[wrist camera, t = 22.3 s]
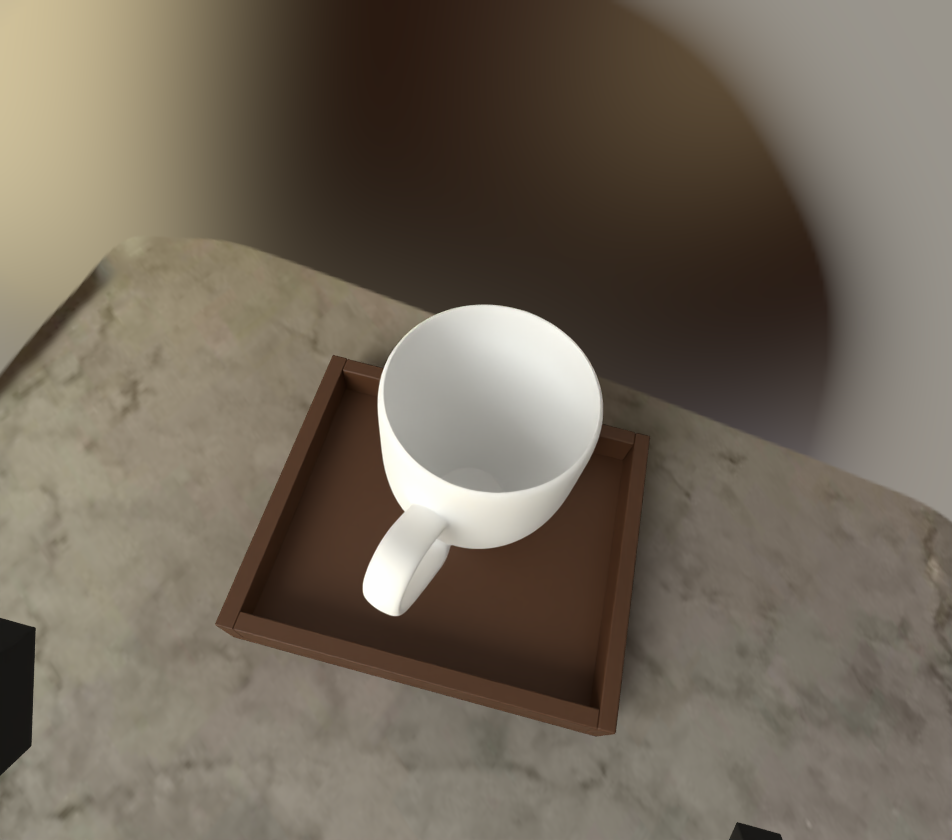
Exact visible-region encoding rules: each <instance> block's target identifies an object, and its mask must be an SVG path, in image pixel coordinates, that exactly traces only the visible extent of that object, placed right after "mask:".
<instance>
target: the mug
mask: <svg viewBox="0 0 952 840" xmlns="http://www.w3.org/2000/svg"><path fill="white" fill-rule="evenodd" d="M378 420H379V430H380V439H381V449H382V456H383V462H384V467H385V471H386V475H387V478H388V481H389V484H390V487H391V489H392V491H393V494H394V496H395V498H396V499H397V501H398V503H399V504H400V506H401V507H402V509H403V510H404V513H403V514H402V515H401V516H400V517H399V519H398V520H397V521H396V522H395V523H394V524H393V525H392V527H391V528H390V529H389V530H388V532H387V533H386V534H385V536H384V537H383V539H382V540H381V542H380V544H379V545H378V547H377V549H376V551H375V553H374V555H373V557H372V559H371V561H370V563H369V566H368V568H367V571H366V574H365V577H364V581H363V594H364V596H365V598H366V600H367V601H368V602H369V603H370V604H371V605H372V606H374V607H375V608H377V609H378V610H380V611H382V612H384V613H386V614H388V615H392V616H400V615H402V614H403V613H405V612H406V611H407V610H408V609H409V608H410V606H411V605H412V604H413V603H414V602H415V601H416V599H417V598H418V597H419V596H420V594H421V593H422V592H423V591H424V589H425V588H426V587H427V585H428V584H429V583H430V581H431V580H432V579H433V578H434V576H435V575H436V574H437V572H438V571H439V570H440V568H441V567H442V565H443V564H444V562H445V560H446V558H447V556H448V553H449V550H450V546H451V545H454V546H458V547H463V548H470V549H487V548H494V547H500V546H504V545H507V544H510V543H513V542H515V541H518V540H520V539H522V538H524V537H526V536H528V535H529V534H531V533H533V532H534V531H536V530H537V529H538V528H540V527H541V526H542V525H543V524H544V523H546V522H547V521H548V520H549V519H550V518H551V517H552V516H553V515H554V514H555V512H556V511H557V510H558V509H559V508H560V506H561V505H562V504H563V502H564V501H565V499H566V498H567V496H568V495H569V493H570V492H571V490H572V488H573V487H574V485H575V483H576V482H577V480H578V478H579V477H580V475H581V473H582V472H583V470H584V468H585V466H586V465H587V463H588V461H589V459H590V457H591V455H592V453H593V451H594V449H595V447H596V444H597V441H598V439H599V435H600V431H601V427H602V420H603V399H602V393H601V388H600V384H599V381H598V378H597V376H596V373H595V371H594V369H593V367H592V365H591V363H590V361H589V360H588V358H587V357H586V355H585V354H584V352H583V351H582V350H581V349H580V348H579V346H578V345H577V344H576V343H575V342H574V341H573V340H572V339H571V338H570V337H569V336H568V335H567V334H565V333H564V332H563V331H562V330H560V329H559V328H557V327H556V326H555V325H553V324H551V323H550V322H548V321H546V320H544V319H542V318H540V317H538V316H536V315H534V314H531V313H529V312H526V311H523V310H519V309H515V308H511V307H506V306H499V305H471V306H463V307H459V308H454V309H450V310H447V311H444V312H441V313H439V314H436V315H434V316H432V317H430V318H428V319H426V320H425V321H423V322H421V323H420V324H418V325H417V326H416V327H414V328H413V329H412V330H411V331H409V332H408V333H407V334H406V335H405V336H404V337H403V338H402V339H401V340H400V342H399V343H398V344H397V345H396V347H395V348H394V350H393V351H392V353H391V354H390V356H389V358H388V360H387V362H386V364H385V367H384V369H383V372H382V375H381V379H380V384H379V390H378Z"/></svg>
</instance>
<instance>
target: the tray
mask: <svg viewBox="0 0 952 840" xmlns="http://www.w3.org/2000/svg"><path fill="white" fill-rule="evenodd" d="M383 369H384V368H381V367H377V366H373V365H369V364H365V363H361V362H357V361H353V360H349V359H348V360H347V359H346V358H343V357H339V356H335V355H333V356H332V358H331V361H330V363H329V365H328V368H327V370H326V372H325V374H324V377H323V379H322V381H321V384H320V386H319V388H318V390H317V393H316V395H315V397H314V400H313V402H312V404H311V406H310V409H309V411H308V413H307V416H306V418H305V420H304V422H303V425H302V427H301V429H300V431H299V434H298V436H297V438H296V441H295V443H294V445H293V447H292V450H291V452H290V454H289V457H288V459H287V461H286V463H285V466H284V468H283V470H282V473H281V475H280V477H279V479H278V482H277V484H276V486H275V489H274V491H273V493H272V495H271V498H270V500H269V502H268V504H267V507H266V509H265V511H264V514H263V516H262V518H261V520H260V523H259V525H258V527H257V530H256V532H255V534H254V536H253V539H252V541H251V543H250V546H249V548H248V550H247V552H246V555H245V557H244V559H243V562H242V564H241V566H240V568H239V571H238V573H237V575H236V577H235V580H234V582H233V584H232V587H231V589H230V591H229V593H228V596H227V598H226V600H225V603H224V605H223V607H222V609H221V612H220V614H219V616H218V619H217V621H216V623H215V625H216V626H218V627H219V628H221V629H222V630H224V631H225V632H227V633H229V634H230V635H231V636H233V637H236V638H239V639H243V640H247V641H250V642H254V643H258V644H261V645H265V646H268V647H272V648H276V649H279V650H283V651H287V652H290V653H294V654H298V655H301V656H305V657H308V658H312V659H316V660H319V661H323V662H327V663H330V664H334V665H338V666H341V667H345V668H349V669H352V670H356V671H359V672H363V673H367V674H370V675H374V676H378V677H381V678H385V679H389V680H392V681H396V682H400V683H403V684H407V685H410V686H414V687H418V688H421V689H425V690H429V691H432V692H436V693H440V694H443V695H447V696H451V697H454V698H458V699H461V700H465V701H469V702H472V703H476V704H480V705H483V706H487V707H491V708H494V709H498V710H502V711H505V712H509V713H512V714H516V715H520V716H523V717H527V718H531V719H534V720H538V721H542V722H545V723H549V724H552V725H556V726H560V727H563V728H567V729H571V730H574V731H578V732H582V733H585V734H589V735H593V736H603V735H611V734H615V733H616V726H617V717H618V709H619V700H620V692H621V683H622V674H623V666H624V657H625V648H626V640H627V631H628V622H629V614H630V605H631V597H632V588H633V579H634V571H635V562H636V553H637V545H638V536H639V528H640V519H641V510H642V502H643V493H644V484H645V476H646V467H647V458H648V450H649V441H650V436H647V435H643V434H639V433H636V434H635V433H634V432H631V431H627V430H624V429H620V428H616V427H612V426H608V425H604V424H602V427H601V431H600V435H599V439H598V441H597V444H596V447H595V449H594V451H593V453H592V455H591V457H590V459H589V461H588V463H587V465H586V466H585V468H584V470H583V472H582V473H581V475H580V477H579V478H578V480H577V482H576V483H575V485H574V487H573V488H572V490H571V492H570V493H569V495H568V496H567V498H566V499H565V501H564V502H563V504H562V505H561V506H560V508H559V509H558V510H557V511H556V512H555V514H554V515H553V516H552V517H551V518H550V519H549V520H548V521H547V522H546V523H544V524H543V525H542V526H541V527H540V528H538V529H537V530H536V531H534V532H533V533H531V534H529V535H528V536H526V537H524V538H522V539H520V540H518V541H515V542H513V543H510V544H507V545H504V546H500V547H494V548H487V549H470V548H463V547H458V546H454V545H451V546H450V550H449V553H448V556H447V558H446V560H445V562H444V564H443V565H442V567H441V568H440V570H439V571H438V572H437V574H436V575H435V576H434V578H433V579H432V580H431V581H430V583H429V584H428V585H427V587H426V588H425V589H424V591H423V592H422V593H421V594H420V596H419V597H418V598H417V599H416V601H415V602H414V603H413V604H412V605H411V606H410V608H409V609H408V610H407V611H406V612H405V613H403V614H402V615H400V616H392V615H388V614H386V613H384V612H382V611H380V610H378V609H377V608H375V607H374V606H372V605H371V604H370V603H369V602H368V601H367V600H366V598H365V596H364V594H363V581H364V577H365V574H366V571H367V568H368V566H369V563H370V561H371V559H372V557H373V555H374V553H375V551H376V549H377V547H378V545H379V544H380V542H381V540H382V539H383V537H384V536H385V534H386V533H387V532H388V530H389V529H390V528H391V527H392V525H393V524H394V523H395V522H396V521H397V520H398V519H399V517H400V516H401V515H402V514H403V513H404V510H403V509H402V507H401V506H400V504H399V503H398V501H397V499H396V498H395V496H394V494H393V491H392V489H391V487H390V484H389V481H388V478H387V475H386V471H385V467H384V462H383V456H382V449H381V439H380V430H379V420H378V390H379V384H380V379H381V375H382V372H383Z"/></svg>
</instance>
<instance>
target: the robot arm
mask: <svg viewBox="0 0 952 840" xmlns="http://www.w3.org/2000/svg"><path fill="white" fill-rule="evenodd" d="M35 630H36V628H35V627H31V626H27V625H24V624H20V623H17V622H13V621H9V620H6V619H2V618H0V775H1V774H3V773H4V772H5V771H6V770H7V769H8V768H9V767H10V766H11V765H12V764H13V763H14V762H15V761H16V760H17V759H18V758H19V757H20V756H21V755H22V754H23V753H25V752H26V751H27V750H28V749H29V748H30V747H31V743H32V715H33V687H34V659H35ZM729 840H782V837H781V835H780V834H778V833H774V832H771V831H767V830H764V829H760V828H756V827H753V826H749V825H746V824H742V823H738V822H737V823H736V826H735V828H734V830H733V832H732V834H731V837H730V839H729Z"/></svg>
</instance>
